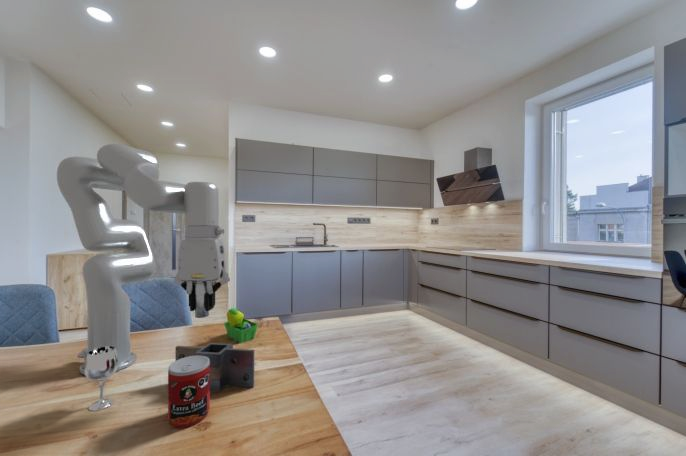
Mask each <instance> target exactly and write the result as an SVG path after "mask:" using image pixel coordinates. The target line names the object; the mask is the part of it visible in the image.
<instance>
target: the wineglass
mask: <svg viewBox="0 0 686 456" xmlns="http://www.w3.org/2000/svg"><path fill="white" fill-rule="evenodd" d="M117 367H118V356H117V352H116V349H115V347H113V346H105V347H100V348H96V349H93V350H91V351H89V352H88V355H87V358H86V362H85V368H84V371H85V375H84V377H86V379H87V380H90V381H93V382H94V381H95V382H98V387H99V393H100V396H99V400H97V401H95V402H92V403H91V404H90V405H89V406H88V411H91V412H96V411H101V410H104V409H106V408H109V407H111V406H112V405H113V404H115V399H114V398H104V389H105V388H104V387H105V380H106V379H108V378H110V377H111V376H112V375H114V374H115V373H116V372H117V371H116V370H117Z"/></svg>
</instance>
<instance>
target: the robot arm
mask: <svg viewBox="0 0 686 456" xmlns="http://www.w3.org/2000/svg"><path fill="white" fill-rule="evenodd" d="M159 179H160V172H159V161H158V159H157V158H156V156H155V155H154V154H153V153H152V152H149V151H147V150H144V149H140V148H136V147H133V146H128V145H124V144H120V143H108V144H105V145H103V146H101V147H100V148H99V149H98V150H97V153H96V158H92V157H85V156H69V157H67V158H64V159H62V160H61V161H60V162H59V163H58V166H57V171H56V180H57V186H58V189H59V192H60V193H61V195H62V197H63V198H64V200H65V202H66V203H67V205H68V207H69V208H70V211H71V212H72V213H71V214H72V217H73V220H74V224H75V227H76V230H77V231H76V232H77V234H78V237H79V241H80V242H81V245H82V246H83V248H84V250H86V251H89V252H95V253H96V252H97V253H98V252H99V253H100V252H101V253H100V254H97V255H96V254H95V255H94V256H91V257H89V258H88V259H87V260H86V261H85V262H84V263H83V265H82V277H83V281H84V282H83V283H84V284H85V285H84V286H85V290H86V291H85V292H86V299H87V301H86V303H87V305H86V306H87V307H86V309H87V310H86V311H87V347H84V348H83V349H82V350H81V352H79V353H78V354H77V358H78V359H84V360H83V363H82V364H81V365H80V367H79V372H80V373H81V374H82V375H84V376H85V371H84V368H85V362H86V358H87V355H88V352H89V351H91V350H93V349H96V348H100V347H105V346H113V347H115V349H116V352H117V356H118V367H117V370H116V371H115V372H118V371H121V370H123V369H125V368H127V367H129V366H131V365H133V364H134V363H135V362H136V361H137V354H136V353H135V352H133V351H131V299H130V296H129V295H128V294H127V292H126V291H125V290H124V289H123V287H122V286H124V285H130V284H135V283H141V282H146V281H148V280H150V279H152V278H153V276H154V275H155V273H156V260H155V256H154V253H153V250H152V248H151V245H150V241H149V239H148V235H147V232H146V230H145V229H144V227H143V226H142V224H141V223H139V222H138V221H137V220H133V219H119V218H115V217H114V216H113V215H112V212H111V210H110V205H109V204H108V203H107V201H106V200H105V199H104V198H103V197H102V196H101V195H100V194H99V193H97V191H95V190H94V189H99V190H111V191H119V192H120V191H123V192H124V193H125V196H126V197H127V198H128V199H129V200H130V201H131V202H133V203H134V204H136V205H137V206H139V207H140V208H142V209H144V210H146V211H149V212H152V213H153V212H154V213H165V214H166V213H167V214H179V215H180V214H181V215H182V214H183V215H184V216H183V217H184V219H183V220H184V221H183V223H184V227H183V228H184V231H183V233H184V236H183V238H184V239H181V242H180V244H179V245H180V246H179V251H178V259H177V274H176V275H175V277H174V279H173V283H174V284H176V285H178V286H179V287H181V288H182V290H183V289H184V290H185V293H186V294H187V295H188V307H189V310H190V312H195V281H207V294H206V295H205V310H206V311H209V312H210V311H211V310H213V309H214V307H215V306H216V292H217V291H218V290H219V289H220V288H221V287H222V286H223V285H226V284H227V283H230V281H231V280H230V279H231V278H230V277H229V275H228V273H227V260H226V252H225V245H224V241H223V238H219V237H220V236H222V235H224V234H225V229H224V228H220V226H219V213H220V212H219V188H218V185H216V184H215V183H212V182H208V181H190V182H187V183H186V184H184V183H180V182H179V183H178V182H171V181H165V180H159ZM117 251H118V252H117ZM119 251H122V252H119ZM102 252H109V253H102ZM191 274H204V276H205V278H201V279H192V278H191ZM219 279H220V280H219Z"/></svg>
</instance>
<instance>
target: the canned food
mask: <svg viewBox="0 0 686 456" xmlns="http://www.w3.org/2000/svg"><path fill="white" fill-rule="evenodd" d="M167 373H168V374H167V409H168V410H167V419H168V422H169V424H170V426H171V427H173V428H178V429H183V428H189V427H191V426H195V425H197V424H198V423H200V422H201V421H203V420H204V419H205V418H206V417H207V416H208V414H209V411H210V407H211V406H210V403H211V402H210V400H211V398H210V396H211V393H210V361H209V358H208V357H206V356H200V355H196V356H189V357H185V358H181V359H179V360H177V361H173V362H172V363H170V364H169V366H168V371H167Z"/></svg>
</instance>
